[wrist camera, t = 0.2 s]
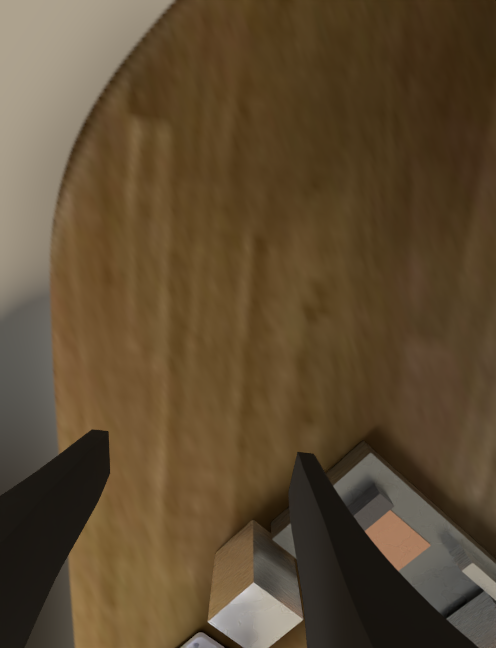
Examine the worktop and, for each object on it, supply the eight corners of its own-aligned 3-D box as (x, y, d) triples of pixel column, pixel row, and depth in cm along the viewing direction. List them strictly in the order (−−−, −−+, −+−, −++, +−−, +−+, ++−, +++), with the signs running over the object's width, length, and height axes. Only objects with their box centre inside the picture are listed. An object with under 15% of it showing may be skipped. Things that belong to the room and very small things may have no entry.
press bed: (430, 649, 28) (451, 695, 25) (270, 522, 25) (273, 558, 22) (522, 583, 26) (557, 624, 23) (363, 440, 23) (379, 466, 20)
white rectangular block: (255, 582, 26) (257, 656, 21) (215, 552, 26) (207, 622, 21) (292, 550, 26) (303, 619, 21) (252, 518, 25) (253, 582, 20)
